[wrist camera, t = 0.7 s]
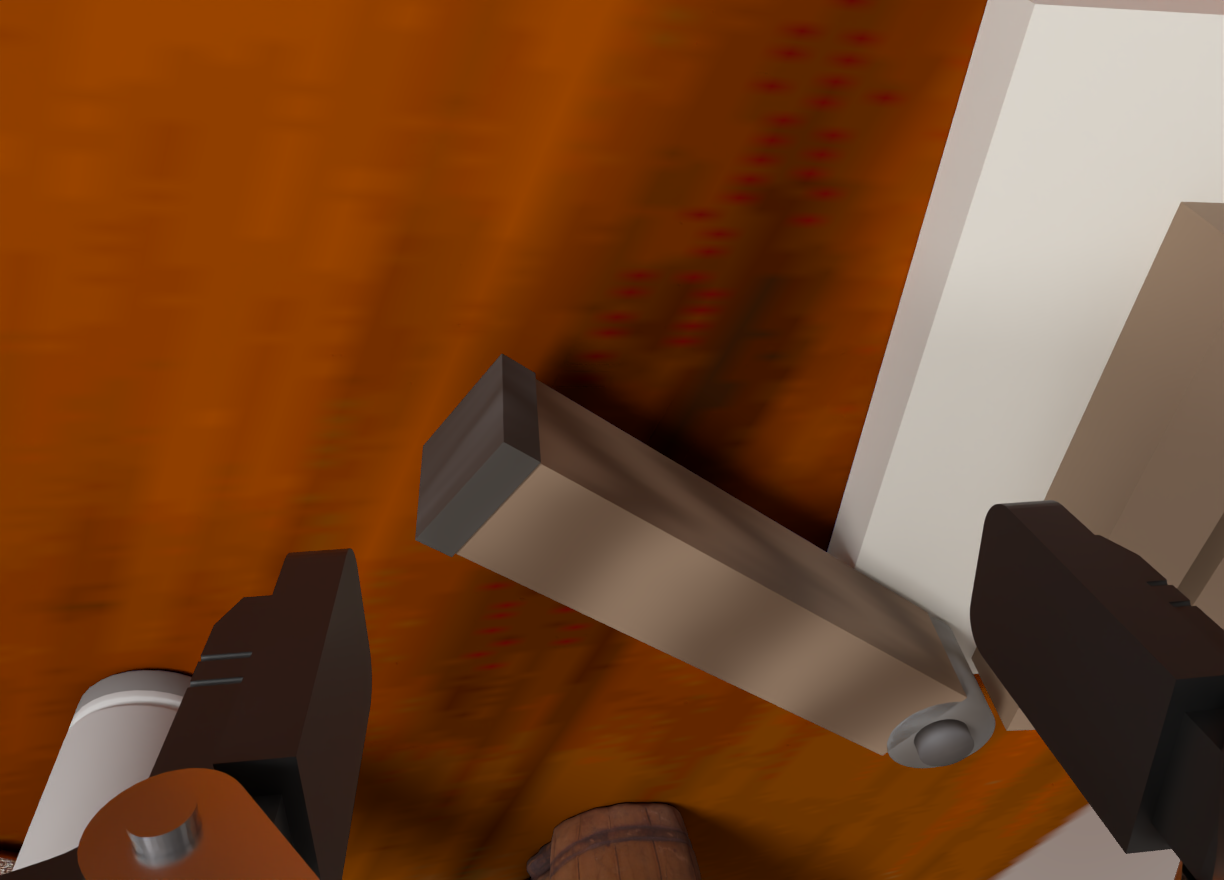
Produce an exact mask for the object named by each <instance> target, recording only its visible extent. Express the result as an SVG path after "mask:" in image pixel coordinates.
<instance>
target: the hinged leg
mask: <svg viewBox="0 0 1224 880" xmlns="http://www.w3.org/2000/svg"><path fill="white" fill-rule="evenodd" d="M415 540H417V541H419V542H421V543H423V544H425V545H427V546H429V547H431V548H434V549H436V550H438V551H440V552H442V553H444V554H446V555H448V556H451V557H452V556H453V555H454V554H455V553H456V554H458V555H460V556H462V557H464V558H467V559H469V560H471V561H473V562H475V563H477V564H479V565H481V566H483V567H486V568H488V569H490V570H492V571H494V572H496V573H498V574H500V575H502V576H505V577H507V578H509V579H511V580H513V581H515V582H517V583H519V584H521V585H524V586H526V587H528V588H530V589H532V590H534V591H536V592H538V593H540V594H543V595H545V596H547V597H549V598H551V599H553V600H555V601H557V602H559V603H562V604H564V605H566V606H568V607H570V608H572V609H574V610H576V611H578V612H581V613H583V614H585V615H587V616H589V617H591V618H593V619H595V620H597V621H600V622H602V623H604V624H606V625H608V626H610V627H612V628H614V629H616V630H619V631H621V632H623V633H625V634H627V635H629V636H631V637H633V638H635V639H637V640H640V641H642V642H644V643H646V644H648V645H650V646H652V647H654V648H656V649H659V650H661V651H663V652H665V653H667V654H669V655H671V656H673V657H675V658H678V659H680V660H682V661H684V662H686V663H688V664H690V665H692V666H694V667H697V668H699V669H701V670H703V671H705V672H707V673H709V674H711V675H713V676H716V677H718V678H720V679H722V680H724V681H726V682H728V683H730V684H732V685H735V686H737V687H739V688H741V689H743V690H745V691H747V692H749V693H751V694H754V695H756V696H758V697H760V698H762V699H764V700H766V701H768V702H770V703H773V704H775V705H777V706H779V707H781V708H783V709H785V710H787V711H789V712H792V713H794V714H796V715H798V716H800V717H802V718H804V719H806V720H808V721H811V722H813V723H815V724H817V725H819V726H821V727H823V728H825V729H827V730H830V731H832V732H834V733H836V734H838V735H840V736H842V737H844V738H846V739H849V740H851V741H853V742H855V743H857V744H859V745H861V746H863V747H865V748H867V749H870V750H872V751H874V752H876V753H878V754H880V755H884V754H885V753H887V752H888V753H889V755H890V757H891V758H892V759H893V760H894V761H896V762H897V763H899V764H902V765H904V766H908V767H914V768H931V767H938V766H946V765H950V764H953V763H956V762H958V761H960V760H962V759H964V758H965V757H967V756H969V755H971V754H973V753H974V752H976V751H977V750H978V749H980V748H981V747H982V746H983V745H984V744H985V743H986V742H987V741H988V740H989V738H990V737H991V735H992V734H993V731H994V728H995V719H994V716H993V714H992V712H991V710H990V708H989V706H988V704H987V702H986V700H985V698H984V695H983V693H982V691H981V689H980V687H979V685H978V683H977V681H976V679H975V677H974V675H973V673H972V671H971V669H970V667H969V664H968V662H967V660H966V658H965V656H964V654H963V652H962V650H961V648H960V646H959V644H958V642H957V640H956V638H955V636H954V634H953V631H952V630H951V628H950V627H949V626H948V625H947V624H946V623H944V622H943V621H941V620H938V619H935V618H932V617H929V615H928V613H927V612H926V611H924V610H923V609H921V608H919V607H918V606H916V605H914V604H913V603H911V602H909V601H908V600H906V599H904V598H903V597H901V596H899V595H897V594H896V593H894V592H892V591H891V590H889V589H887V588H886V587H884V586H882V585H881V584H879V583H877V582H876V581H874V580H872V579H871V578H869V577H867V576H866V575H864V574H862V573H861V572H859V571H857V570H856V569H854V568H852V567H850V566H849V565H847V564H845V563H844V562H842V561H840V560H839V559H837V558H835V557H834V556H832V555H830V554H829V553H827V552H825V551H824V550H822V549H820V548H819V547H817V546H815V545H814V544H812V543H810V542H809V541H807V540H805V539H804V538H802V537H800V536H798V535H797V534H795V533H793V532H792V531H790V530H788V529H787V528H785V527H783V526H782V525H780V524H778V523H777V522H775V521H773V520H772V519H770V518H768V517H767V516H765V515H763V514H762V513H760V512H758V511H757V510H755V509H753V508H751V507H750V506H748V505H746V504H745V503H743V502H741V501H740V500H738V499H736V498H735V497H733V496H731V495H730V494H728V493H726V492H725V491H723V490H721V489H720V488H718V487H716V486H715V485H713V484H711V483H710V482H708V481H706V480H704V479H703V478H701V477H699V476H698V475H696V474H694V473H693V472H691V471H689V470H688V469H686V468H684V467H683V466H681V465H679V464H678V463H676V462H674V461H673V460H671V459H669V458H668V457H666V456H664V455H663V454H661V453H659V452H657V451H656V450H654V449H652V448H651V447H649V446H647V445H646V444H644V443H642V442H641V441H639V440H637V439H636V438H634V437H632V436H631V435H629V434H627V433H626V432H624V431H622V430H621V429H619V428H617V427H616V426H614V425H612V424H611V423H609V422H607V421H605V420H604V419H602V418H600V417H599V416H597V415H595V414H594V413H592V412H590V411H589V410H587V409H585V408H584V407H582V406H580V405H579V404H577V403H575V402H574V401H572V400H570V399H569V398H567V397H565V396H564V395H562V394H560V393H558V392H557V391H555V390H553V389H552V388H550V387H548V386H547V385H545V384H543V383H542V382H540V381H538V380H537V379H535V373H534V372H532V371H530V370H529V369H527V368H525V367H524V366H522V365H520V364H519V363H517V362H515V361H514V360H512V359H510V358H509V357H507V356H505V355H504V354H501V355H500V356H499V358H498V359H497V360H496V361H495V362H494V363H493V365H492V366H491V367H490V368H489V369H488V370H487V372H486V373H485V374H484V375H483V376H482V378H481V379H480V380H479V381H478V382H477V383H476V385H475V386H474V387H473V388H472V389H471V390H470V392H469V393H468V394H467V395H466V396H465V398H464V399H463V400H462V401H461V402H460V403H459V405H458V406H457V407H456V408H455V409H454V410H453V412H452V413H451V414H450V415H449V416H448V418H447V419H446V420H445V421H444V422H443V423H442V425H441V426H440V427H439V428H438V429H437V430H436V432H435V433H434V434H433V435H432V436H431V437H430V439H429V440H428V441H427V442H426V443H425V445H424V446H423V455H422V467H421V478H420V490H419V502H418V514H417V526H416V537H415Z"/></svg>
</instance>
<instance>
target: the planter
mask: <svg viewBox="0 0 1224 880" xmlns="http://www.w3.org/2000/svg"><path fill="white" fill-rule="evenodd" d="M18 855H19V853H17V852H11V851H6V850H0V875H3V874H6V873H9V872H12V870H13V868H14V865H15V863H16V860H17V858H18Z"/></svg>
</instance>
